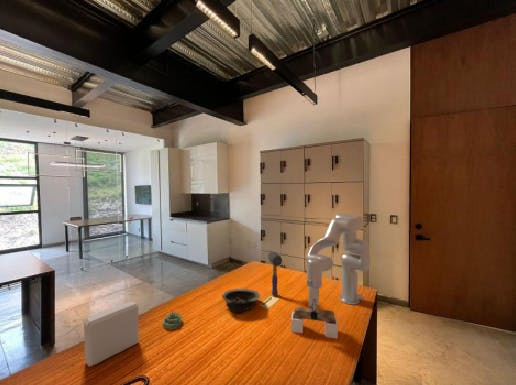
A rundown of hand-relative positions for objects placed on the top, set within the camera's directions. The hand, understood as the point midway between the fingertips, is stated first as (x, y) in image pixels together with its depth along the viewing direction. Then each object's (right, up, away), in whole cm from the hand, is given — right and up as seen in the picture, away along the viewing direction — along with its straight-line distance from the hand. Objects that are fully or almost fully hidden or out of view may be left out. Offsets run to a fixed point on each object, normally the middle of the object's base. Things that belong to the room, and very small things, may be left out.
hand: (314, 313), depth 124 cm
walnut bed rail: (0, -5, 0) cm, 5 cm away
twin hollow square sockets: (0, -9, 0) cm, 9 cm away
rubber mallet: (-18, -8, +40) cm, 44 cm away
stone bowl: (-41, -8, +26) cm, 49 cm away
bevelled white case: (-98, -10, -15) cm, 99 cm away
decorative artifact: (-78, -9, +7) cm, 78 cm away
